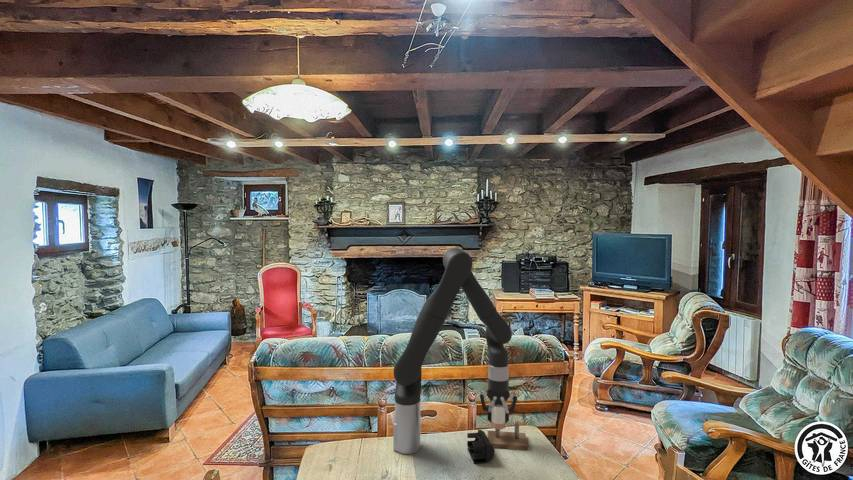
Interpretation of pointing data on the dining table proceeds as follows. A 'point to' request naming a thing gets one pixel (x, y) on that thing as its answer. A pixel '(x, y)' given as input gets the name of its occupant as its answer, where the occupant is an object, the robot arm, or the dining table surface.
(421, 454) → the dining table surface
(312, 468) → the dining table surface
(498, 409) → the sleeve
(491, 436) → the pin board
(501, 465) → the dining table surface
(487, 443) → the end cap
